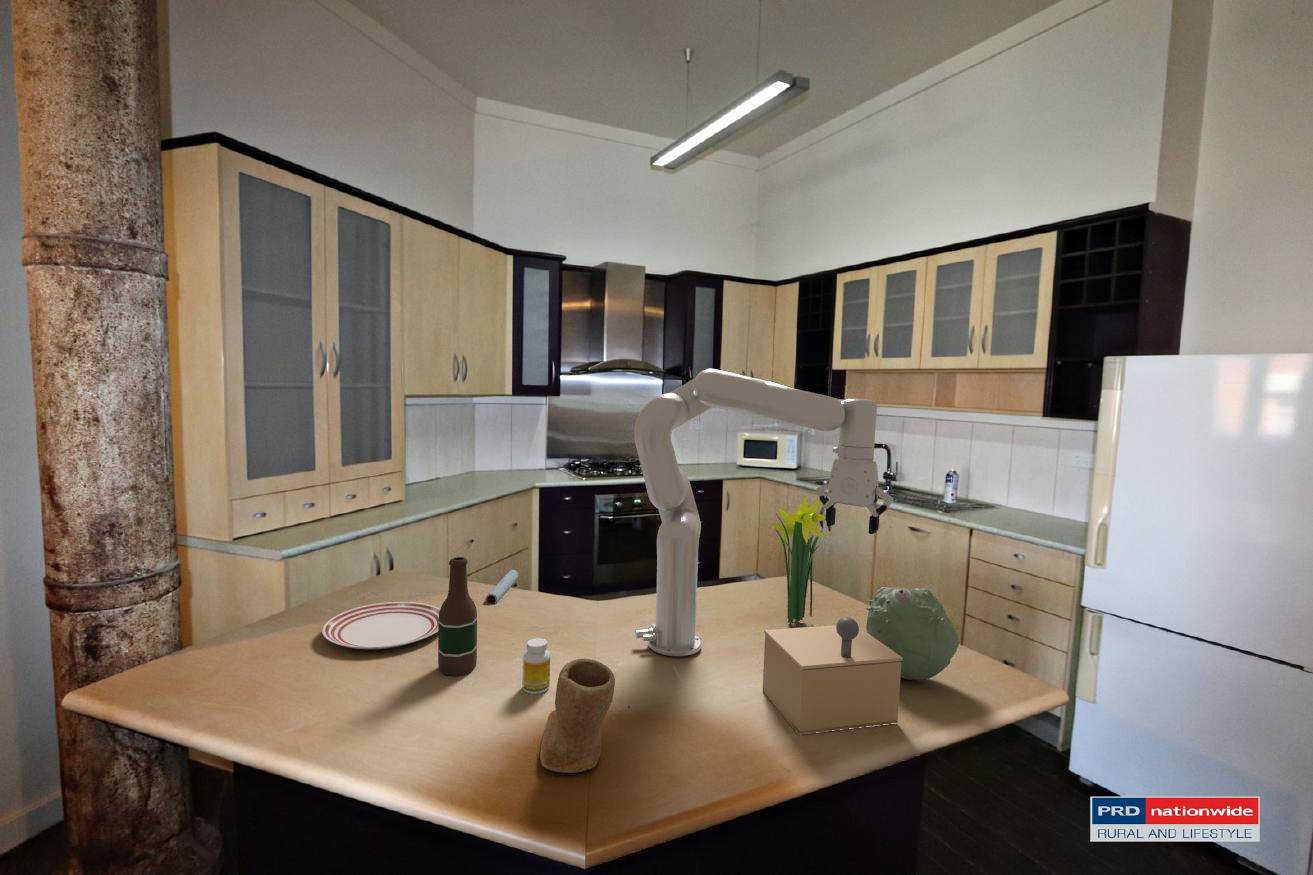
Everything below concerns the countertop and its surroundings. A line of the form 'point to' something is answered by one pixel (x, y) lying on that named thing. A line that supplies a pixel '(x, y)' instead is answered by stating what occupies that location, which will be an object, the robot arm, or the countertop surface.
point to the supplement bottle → (536, 667)
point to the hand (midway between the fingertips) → (851, 529)
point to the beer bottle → (457, 625)
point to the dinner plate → (382, 625)
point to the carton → (831, 693)
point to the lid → (831, 645)
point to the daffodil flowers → (799, 554)
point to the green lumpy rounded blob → (913, 630)
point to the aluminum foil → (502, 586)
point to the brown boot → (577, 717)
